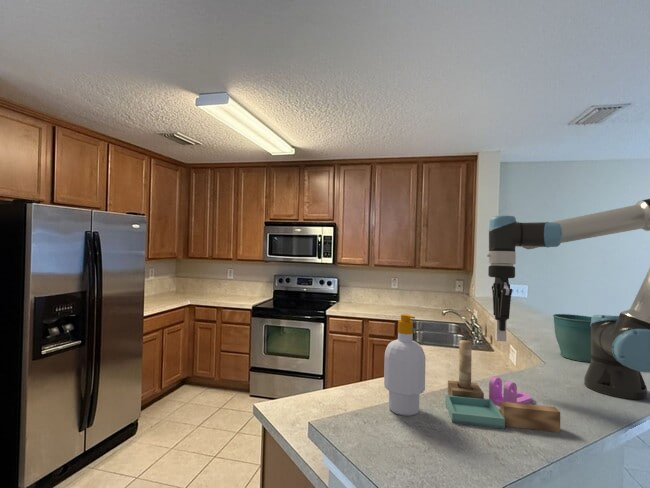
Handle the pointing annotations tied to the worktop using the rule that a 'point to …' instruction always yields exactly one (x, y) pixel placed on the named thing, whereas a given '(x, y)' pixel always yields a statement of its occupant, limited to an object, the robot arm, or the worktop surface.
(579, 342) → the flower pot
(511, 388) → the bracket
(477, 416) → the tray
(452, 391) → the socket block
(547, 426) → the block
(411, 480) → the worktop surface
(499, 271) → the robot arm
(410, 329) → the soap bottle
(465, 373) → the dowel
